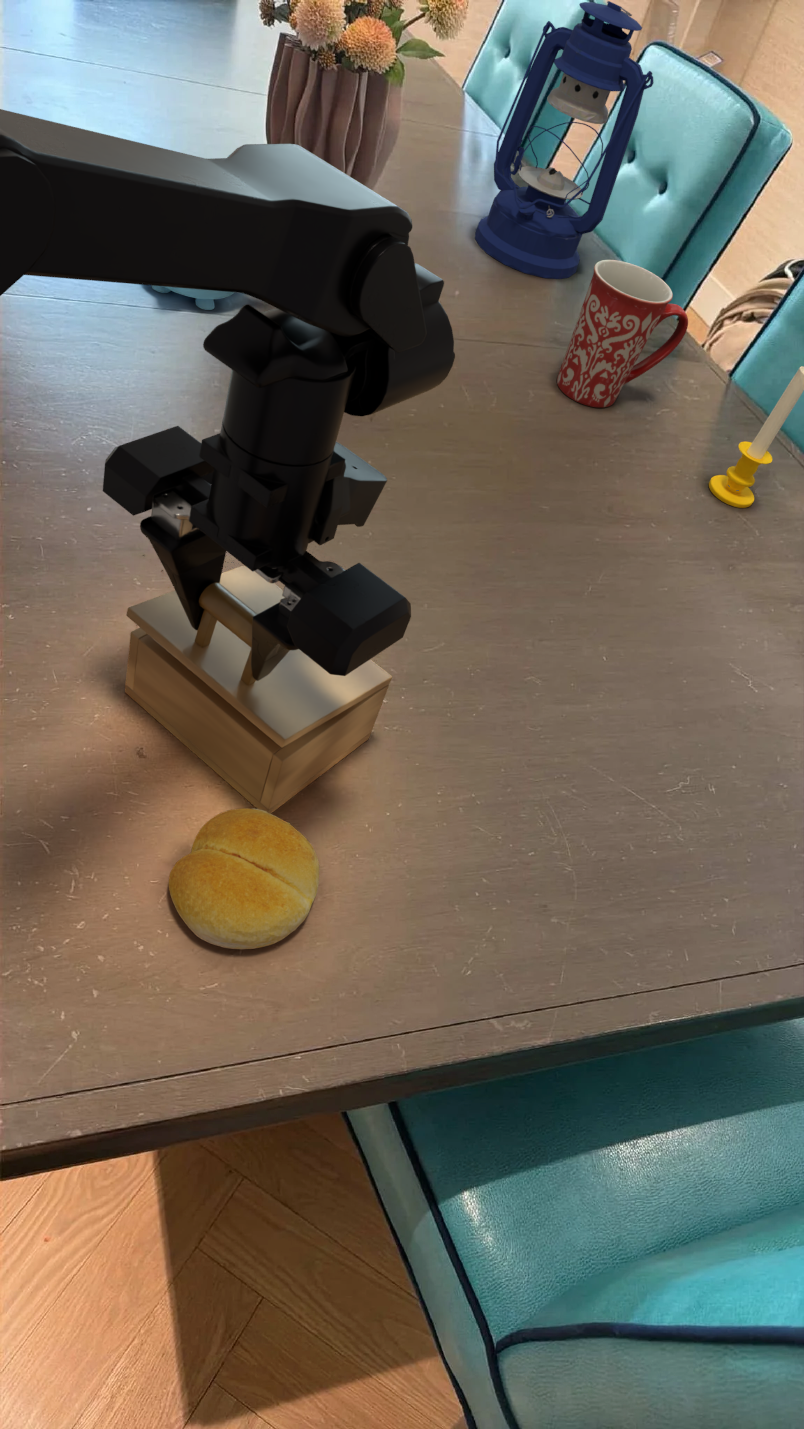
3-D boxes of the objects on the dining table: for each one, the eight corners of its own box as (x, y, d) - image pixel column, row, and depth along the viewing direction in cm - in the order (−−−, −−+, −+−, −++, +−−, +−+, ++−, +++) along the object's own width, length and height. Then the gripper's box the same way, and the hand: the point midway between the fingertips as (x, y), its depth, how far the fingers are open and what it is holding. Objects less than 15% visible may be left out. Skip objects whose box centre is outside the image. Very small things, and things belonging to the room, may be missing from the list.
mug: (554, 403, 112) (603, 289, 103) (543, 362, 118) (588, 250, 109) (655, 427, 115) (712, 318, 105) (639, 385, 121) (692, 279, 111)
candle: (760, 502, 110) (842, 376, 99) (735, 512, 107) (817, 384, 96) (725, 474, 112) (801, 348, 101) (699, 484, 109) (775, 355, 98)
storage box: (266, 817, 64) (282, 762, 60) (124, 692, 68) (130, 631, 64) (369, 739, 71) (389, 684, 67) (234, 628, 75) (246, 570, 71)
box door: (281, 748, 59) (307, 685, 55) (125, 615, 62) (141, 549, 59) (389, 684, 67) (417, 626, 64) (246, 570, 71) (265, 510, 68)
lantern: (599, 268, 143) (699, 30, 122) (553, 292, 133) (653, 37, 112) (500, 213, 147) (581, -27, 125) (448, 233, 136) (526, -25, 115)
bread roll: (144, 916, 57) (149, 879, 55) (221, 810, 64) (229, 772, 61) (270, 983, 57) (282, 949, 54) (335, 869, 63) (349, 833, 60)
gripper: (508, 485, 53) (422, 685, 64) (258, 312, 58) (218, 525, 69) (380, 557, 46) (307, 769, 56) (106, 352, 51) (88, 583, 61)
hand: (230, 651), depth 61 cm, fingers closed on box door, 5 cm apart
